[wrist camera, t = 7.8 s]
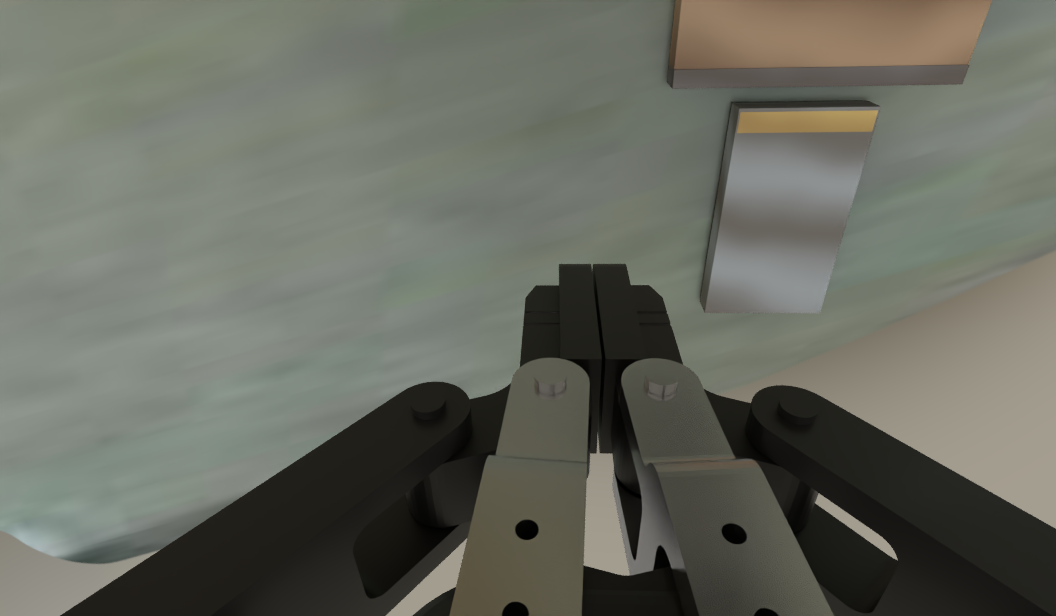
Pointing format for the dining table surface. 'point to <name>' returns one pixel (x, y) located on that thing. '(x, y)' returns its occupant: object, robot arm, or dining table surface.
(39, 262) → the dining table surface
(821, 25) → the laid floor board
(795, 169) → the grey flat plate
